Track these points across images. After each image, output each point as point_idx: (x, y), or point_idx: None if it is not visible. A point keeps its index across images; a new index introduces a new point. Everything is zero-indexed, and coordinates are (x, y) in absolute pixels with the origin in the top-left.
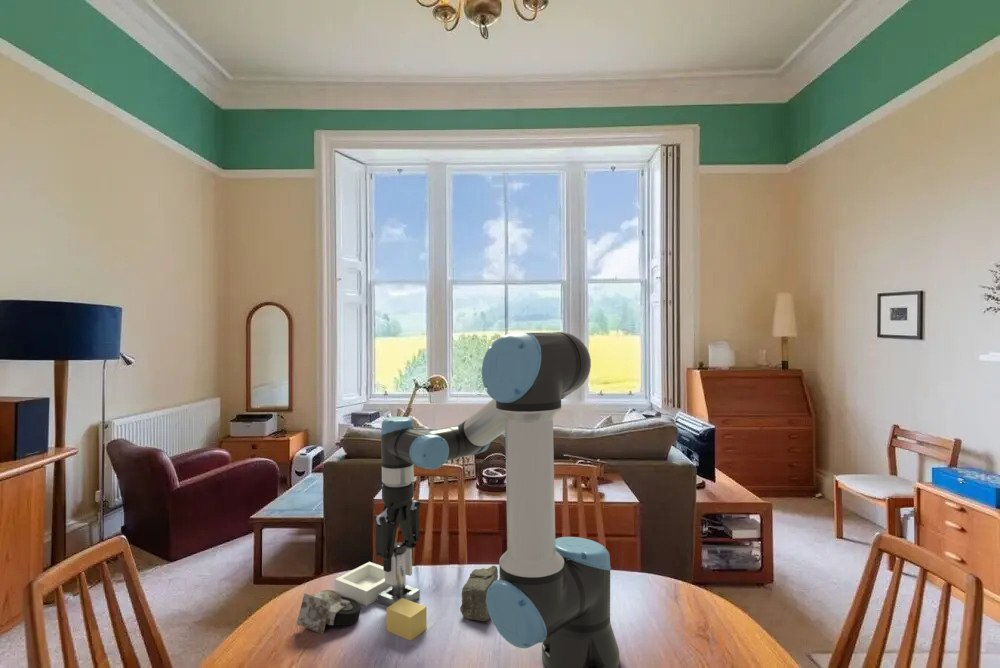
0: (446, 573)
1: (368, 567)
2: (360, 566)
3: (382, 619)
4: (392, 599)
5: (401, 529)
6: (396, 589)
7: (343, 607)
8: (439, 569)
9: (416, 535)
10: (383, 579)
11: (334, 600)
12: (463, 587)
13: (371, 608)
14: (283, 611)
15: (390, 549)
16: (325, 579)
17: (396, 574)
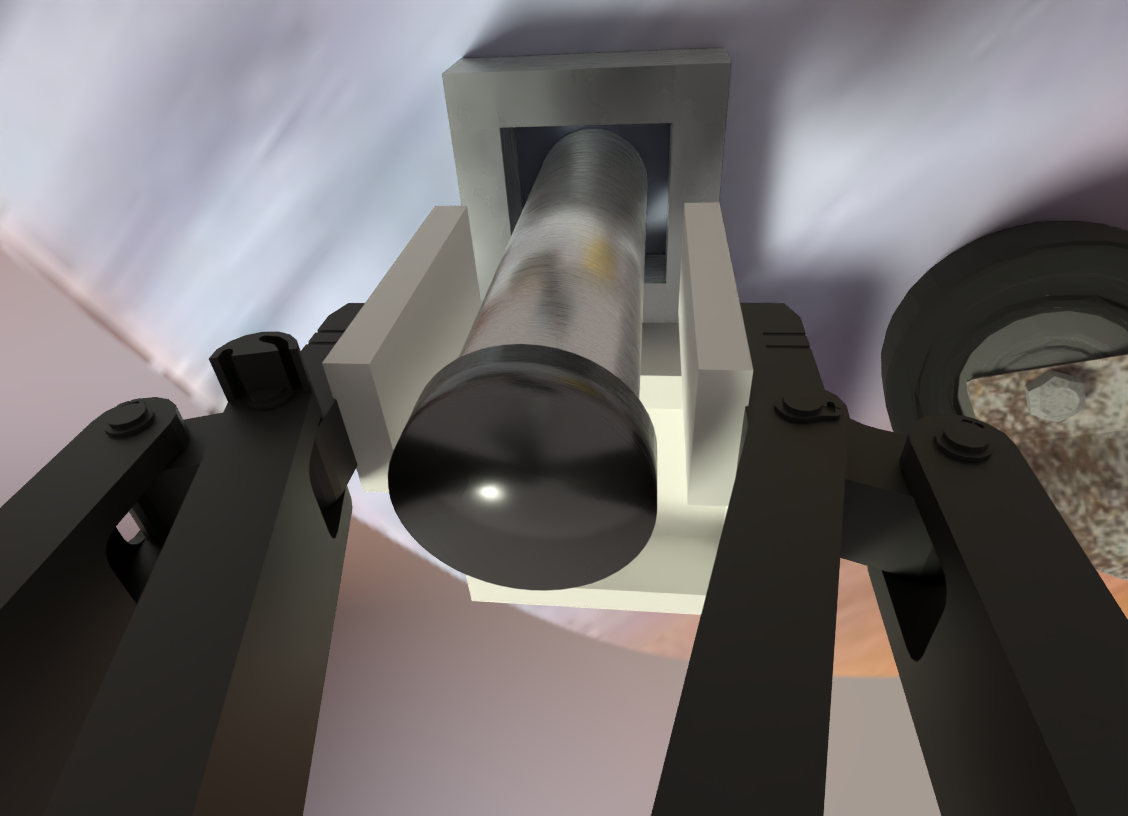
0: (66, 157)
1: None
2: (549, 603)
3: (901, 74)
4: (717, 161)
5: (310, 740)
6: (640, 204)
7: (1093, 360)
8: (91, 247)
9: (107, 477)
10: None
11: (1100, 455)
12: None
13: (793, 271)
14: None
15: (829, 493)
16: (661, 647)
17: (636, 266)
